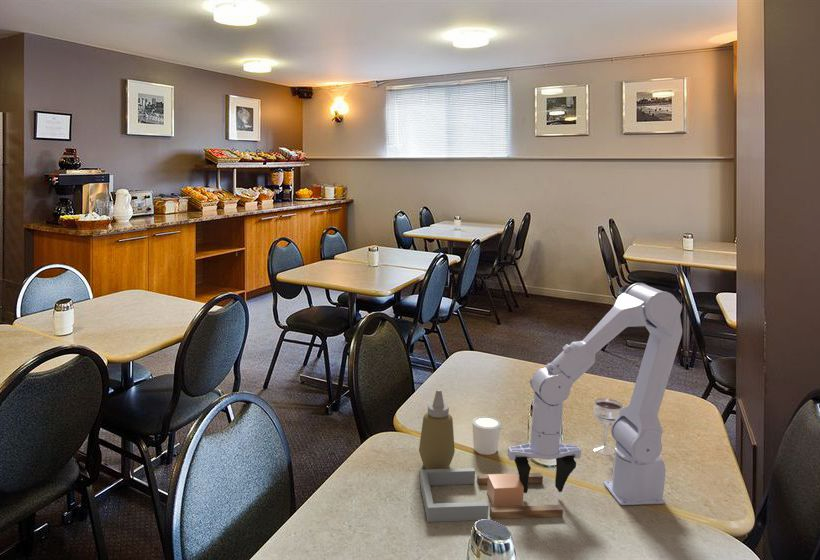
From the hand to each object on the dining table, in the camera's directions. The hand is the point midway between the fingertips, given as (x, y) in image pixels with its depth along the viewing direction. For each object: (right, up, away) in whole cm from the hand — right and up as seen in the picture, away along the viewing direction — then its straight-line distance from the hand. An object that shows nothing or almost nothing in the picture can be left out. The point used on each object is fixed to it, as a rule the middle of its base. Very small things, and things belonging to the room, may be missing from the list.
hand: (541, 489), depth 106 cm
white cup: (-9, +2, +19) cm, 21 cm away
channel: (-5, -2, 0) cm, 5 cm away
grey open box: (-18, -2, -1) cm, 18 cm away
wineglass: (+20, +1, +20) cm, 29 cm away
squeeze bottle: (-21, +1, +11) cm, 24 cm away
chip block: (-8, -2, 0) cm, 8 cm away
